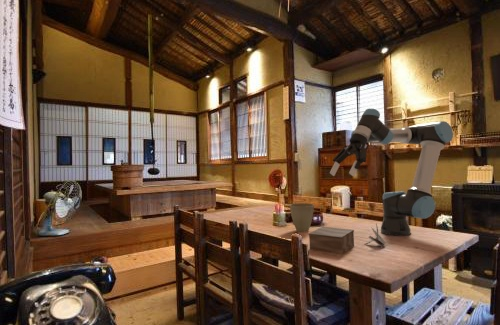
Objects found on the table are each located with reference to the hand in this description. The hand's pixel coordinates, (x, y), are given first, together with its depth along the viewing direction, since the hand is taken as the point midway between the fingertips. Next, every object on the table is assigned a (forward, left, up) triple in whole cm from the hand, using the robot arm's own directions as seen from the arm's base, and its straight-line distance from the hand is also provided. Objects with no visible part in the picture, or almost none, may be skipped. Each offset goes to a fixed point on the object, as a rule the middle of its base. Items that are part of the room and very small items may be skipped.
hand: (341, 174), depth 136 cm
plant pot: (-28, -37, -36) cm, 59 cm away
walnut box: (-4, -8, -36) cm, 37 cm away
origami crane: (-16, +9, -36) cm, 41 cm away
